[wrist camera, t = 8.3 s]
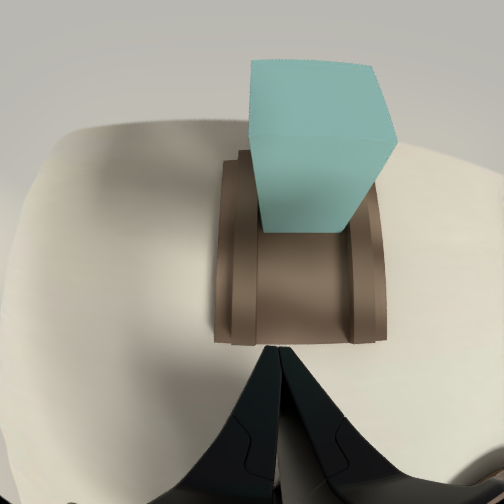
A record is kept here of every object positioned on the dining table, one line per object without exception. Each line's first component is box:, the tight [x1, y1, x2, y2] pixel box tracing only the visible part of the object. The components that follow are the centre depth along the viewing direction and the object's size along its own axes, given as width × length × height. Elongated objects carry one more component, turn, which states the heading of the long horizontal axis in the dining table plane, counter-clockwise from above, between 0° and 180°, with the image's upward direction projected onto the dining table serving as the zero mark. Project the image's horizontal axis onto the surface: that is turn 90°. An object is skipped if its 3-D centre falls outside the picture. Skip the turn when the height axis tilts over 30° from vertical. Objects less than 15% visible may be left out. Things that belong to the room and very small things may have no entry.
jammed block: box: [248, 60, 398, 233], centre depth 16 cm, size 5×6×12 cm
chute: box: [214, 150, 387, 346], centre depth 20 cm, size 15×13×5 cm
